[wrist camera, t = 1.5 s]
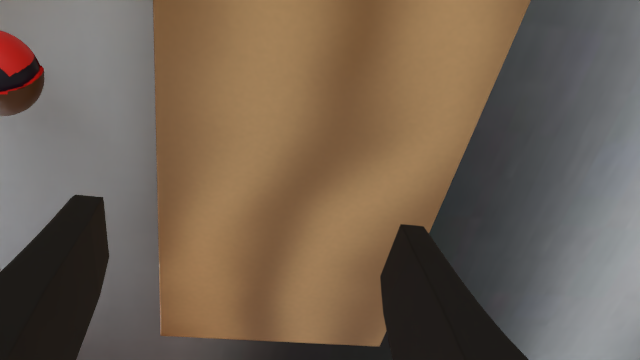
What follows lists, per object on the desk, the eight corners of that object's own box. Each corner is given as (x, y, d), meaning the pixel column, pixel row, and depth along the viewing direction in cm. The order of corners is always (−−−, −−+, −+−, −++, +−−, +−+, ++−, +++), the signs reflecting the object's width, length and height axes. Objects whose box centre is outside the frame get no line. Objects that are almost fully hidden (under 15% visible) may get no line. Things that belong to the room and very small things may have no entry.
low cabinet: (174, 262, 28) (160, 336, 25) (178, -323, 14) (145, -340, 10) (368, 276, 30) (379, 346, 27) (551, -234, 16) (629, -223, 12)
